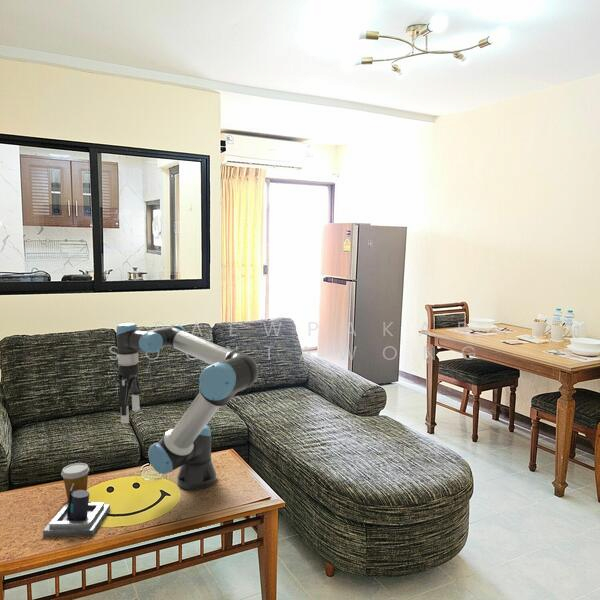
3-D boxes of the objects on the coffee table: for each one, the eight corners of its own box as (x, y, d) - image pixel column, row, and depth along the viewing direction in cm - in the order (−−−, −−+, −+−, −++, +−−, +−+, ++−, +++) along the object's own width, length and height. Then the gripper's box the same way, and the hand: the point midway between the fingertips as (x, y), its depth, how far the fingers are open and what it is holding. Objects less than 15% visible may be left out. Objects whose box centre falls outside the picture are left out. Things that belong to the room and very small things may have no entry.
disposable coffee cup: (87, 489, 196) (85, 460, 195) (93, 500, 189) (92, 469, 187) (60, 497, 191) (58, 466, 189) (66, 508, 183) (64, 476, 182)
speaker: (60, 520, 171) (62, 490, 170) (69, 512, 177) (71, 483, 176) (81, 523, 170) (83, 494, 169) (90, 515, 176) (92, 486, 175)
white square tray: (110, 509, 182) (109, 500, 182) (92, 535, 166) (92, 525, 166) (64, 510, 182) (64, 500, 181) (43, 536, 166) (42, 526, 165)
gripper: (128, 356, 209) (131, 406, 212) (106, 372, 184) (109, 428, 187) (147, 355, 209) (149, 405, 212) (127, 371, 185) (130, 428, 187)
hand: (130, 416), depth 199 cm, fingers open, 13 cm apart
